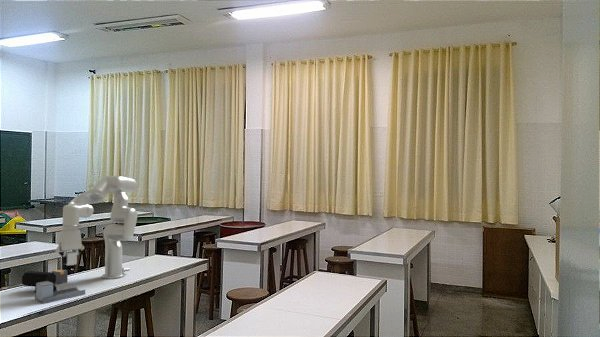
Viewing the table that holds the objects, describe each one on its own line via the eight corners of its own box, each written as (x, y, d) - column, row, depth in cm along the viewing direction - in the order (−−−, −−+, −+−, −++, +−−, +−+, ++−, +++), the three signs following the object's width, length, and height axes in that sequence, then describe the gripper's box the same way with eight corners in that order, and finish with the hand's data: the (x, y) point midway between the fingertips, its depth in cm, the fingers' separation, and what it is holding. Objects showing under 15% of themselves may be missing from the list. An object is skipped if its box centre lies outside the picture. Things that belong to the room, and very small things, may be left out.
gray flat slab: (76, 290, 224) (76, 286, 224) (85, 294, 218) (85, 289, 218) (34, 299, 208) (34, 295, 208) (43, 303, 202) (43, 299, 202)
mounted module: (47, 295, 211) (47, 280, 211) (53, 298, 207) (53, 283, 207) (35, 298, 207) (36, 283, 207) (41, 300, 203) (42, 285, 203)
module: (72, 262, 223) (72, 250, 223) (76, 264, 219) (77, 252, 220) (62, 263, 220) (63, 251, 220) (67, 265, 216) (67, 253, 216)
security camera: (50, 294, 216) (50, 275, 216) (20, 292, 220) (20, 273, 220) (60, 290, 223) (61, 272, 223) (31, 288, 227) (31, 270, 227)
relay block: (60, 281, 242) (60, 269, 242) (67, 282, 240) (67, 270, 240) (52, 283, 238) (52, 271, 238) (59, 284, 235) (59, 272, 235)
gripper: (84, 226, 229) (83, 259, 228) (50, 229, 216) (49, 264, 215) (90, 227, 224) (89, 261, 224) (56, 230, 211) (55, 266, 211)
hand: (69, 262), depth 220 cm, fingers closed on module, 4 cm apart
